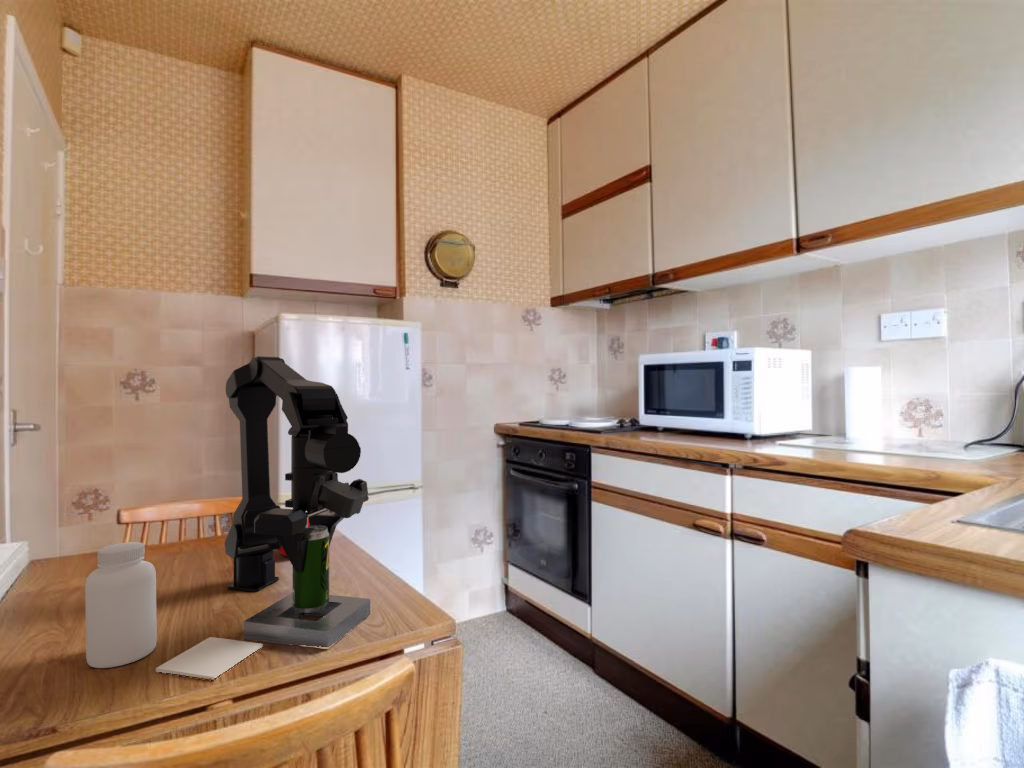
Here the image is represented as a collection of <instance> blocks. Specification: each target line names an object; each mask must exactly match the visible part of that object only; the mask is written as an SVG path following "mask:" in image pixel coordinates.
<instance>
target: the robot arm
mask: <svg viewBox="0 0 1024 768" xmlns="http://www.w3.org/2000/svg"><path fill="white" fill-rule="evenodd" d="M285 362H286V361H285V359H284V358H280V357H279V356H266V355H265V356H261V355H260V356H259V355H258V356H256V357H252V359H251V360H250V361H249V362H248V363H246V364H245V365H242V366H240V367H238V368H236V369H234V370H233V371H232V372H231V374H230V376H229V377H228V378H227V380H226V383H225V395H226V397H227V398H228V404H229V408H230V410H231V411H232V413H233V414H234V415H235V416H236V419H237V420H238V421H239V436H240V437H239V440H240V462H241V463H240V465H241V466H240V468H241V497H242V498H241V500H240V502H239V504H238V506H237V508H236V509H235V511H234V512H233V514H232V525H231V527H230V529H229V532H228V533H227V536H226V538H225V540H224V551H225V555H226V556H228V557H230V558H231V559H233V582H232V583H229V584H228V585H226V589H228V590H237V591H245V592H246V591H248V592H258V591H260V590H262V589H264V588H265V587H268V586H270V585H271V584H273V583H276V582H278V580H280V578H279V576H276V559H275V558H274V551H278V550H279V549H281V546H282V548H283V549H284V551H285V553H286V555H287V556H286V557H287V558H288V560H289V562H290V564H291V566H292V569H293V568H294V569H295V571H296V572H299V573H301V572H303V570H304V564H305V554H306V543H307V538H308V536H309V535H310V534H311V533H312V532H313V531H314V529H315V528H308V519H309V524H310V525H323V526H327V527H328V532H329V547H330V546H331V542H332V540H333V536H334V534H335V531H336V529H337V528H336V527H337V526H338V524H339V523H340V522H341V521H343V520H344V519H349V518H351V517H352V516H354V515H356V514H357V515H358V514H360V513H361V511H362V508H363V504H364V503H365V502H367V501H369V495H368V494H369V490H368V482H367V481H366V480H363V479H362V478H358V479H355V480H353V481H352V482H345V483H344V482H341V481H339V478H338V477H339V474H344V473H347V472H350V471H351V470H353V469H354V468H355V467H356V466H357V464H359V463H358V462H359V461H360V459H361V454H362V452H361V451H362V450H361V446H360V443H359V441H358V440H357V438H356V437H355V436H354V435H352V434H350V433H349V423H348V421H347V420H348V415H347V414H346V412H345V410H344V407H343V405H342V404H341V401H340V398H339V395H338V393H337V391H336V389H335V388H334V387H333V386H332V385H329V384H326V383H324V382H319V381H313V380H308V379H306V378H305V377H304V376H302V375H301V374H300V373H298V372H297V371H296V370H295V369H293V368H292V367H290V366H289V364H287V363H285ZM277 397H279V398H280V400H282V403H281V405H282V406H281V411H282V413H283V414H284V415H285V417H286V419H287V421H288V422H289V424H290V426H291V427H290V428H289V429H288V431H287V434H288V435H289V436H291V441H290V442H291V444H290V445H291V448H290V449H291V451H290V452H291V458H290V459H291V460H290V461H291V465H290V466H291V467H290V468H291V469H290V470H291V472H288V473H284V475H285V477H284V481H289V482H291V484H290V486H291V487H290V488H291V489H290V490H291V492H290V493H291V497H290V499H286V500H285V501H284V504H285V505H284V507H285V508H281V506H280V505H278V504H276V502H275V501H274V500H273V498H272V497H271V485H270V484H271V483H270V482H271V480H270V479H271V478H270V457H269V456H270V455H269V454H270V453H269V433H268V432H269V430H268V425H269V424H268V419H269V417H270V415H271V414H272V412H273V410H274V409H275V407H276V405H277Z"/></svg>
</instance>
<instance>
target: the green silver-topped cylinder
mask: <svg viewBox="0 0 1024 768" xmlns="http://www.w3.org/2000/svg"><path fill="white" fill-rule="evenodd" d="M308 528H315V529H314V531H313V532H312V533H311V534H310V535H309V536H308V538H307V543H306V554H305V564H304V570H303V572H301V573H299V572H296V571H295V569H294V568H293V567H292V593H293V607H294V609H295V610H296V611H297V612H302V613H310V612H315V611H319V610H321V609H324V608H325V607H326V606H327V604H328V602H329V595H330V546H329V532H328V527H327V526H323V525H309V526H308Z"/></svg>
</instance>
